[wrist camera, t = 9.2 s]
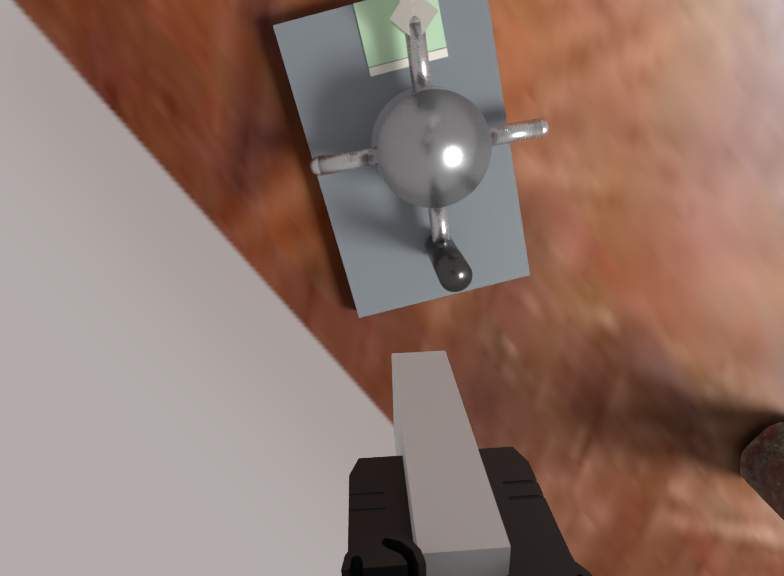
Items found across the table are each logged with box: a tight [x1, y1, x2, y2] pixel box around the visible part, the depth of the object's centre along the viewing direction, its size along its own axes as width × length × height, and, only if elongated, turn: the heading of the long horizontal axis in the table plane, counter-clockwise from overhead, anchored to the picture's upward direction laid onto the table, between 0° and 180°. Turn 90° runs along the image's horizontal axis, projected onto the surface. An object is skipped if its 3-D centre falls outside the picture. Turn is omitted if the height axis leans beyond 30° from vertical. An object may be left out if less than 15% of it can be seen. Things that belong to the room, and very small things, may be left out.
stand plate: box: [273, 0, 530, 318], centre depth 35 cm, size 20×13×1 cm, turn 14°
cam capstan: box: [310, 0, 549, 292], centre depth 31 cm, size 15×17×7 cm
